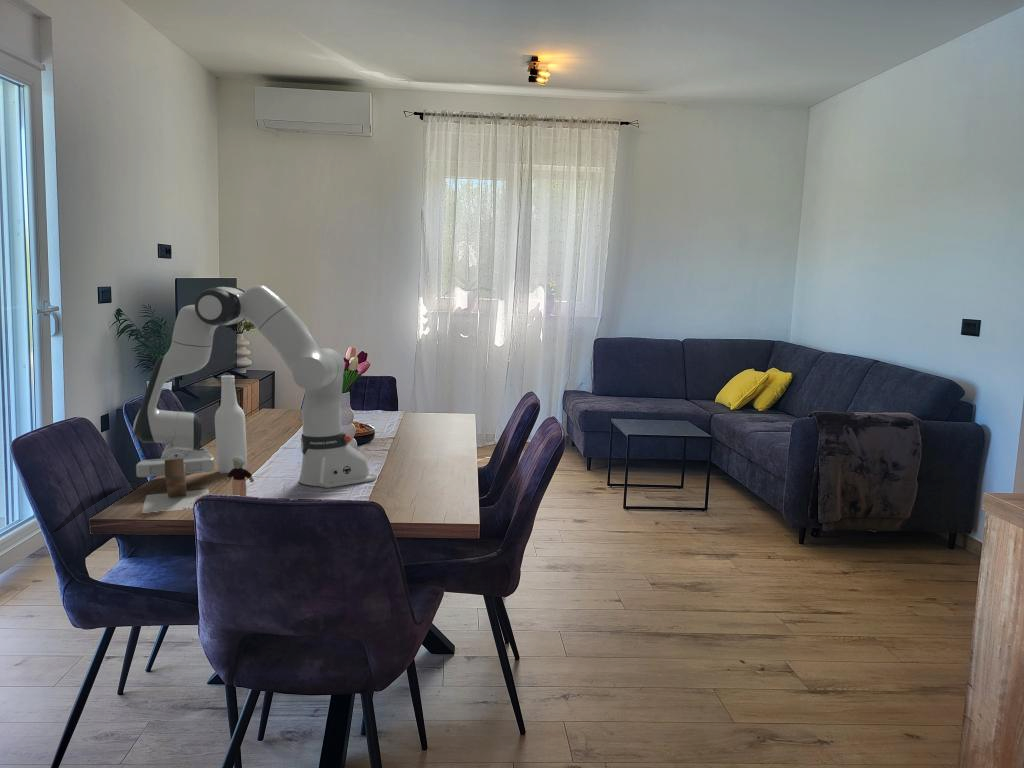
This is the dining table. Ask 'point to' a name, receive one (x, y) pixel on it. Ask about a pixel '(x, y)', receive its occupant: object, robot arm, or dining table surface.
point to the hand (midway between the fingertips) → (175, 472)
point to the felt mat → (171, 501)
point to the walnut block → (175, 478)
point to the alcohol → (229, 428)
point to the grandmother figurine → (239, 476)
